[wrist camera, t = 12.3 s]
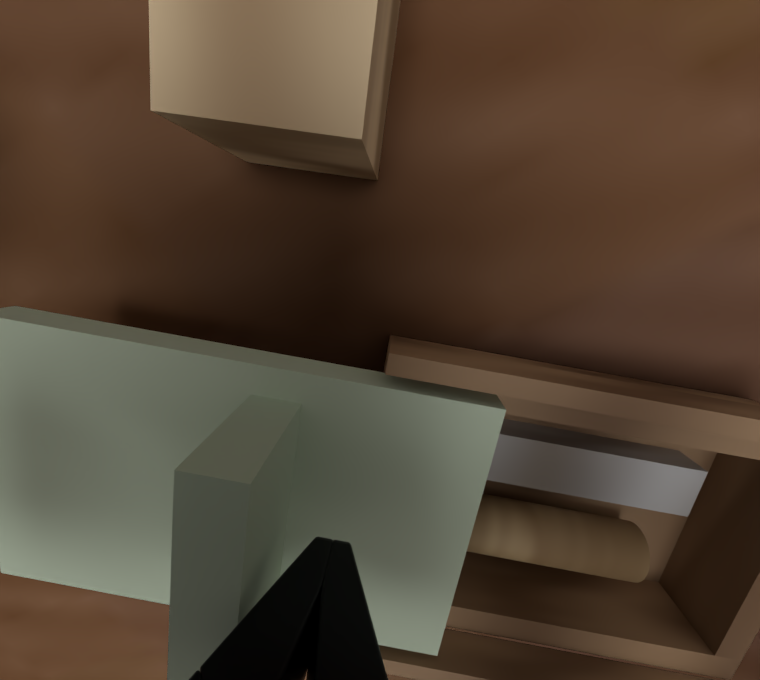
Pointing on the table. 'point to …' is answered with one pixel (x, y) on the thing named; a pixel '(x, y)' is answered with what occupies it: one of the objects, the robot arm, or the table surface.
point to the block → (278, 78)
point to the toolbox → (599, 526)
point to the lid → (230, 475)
